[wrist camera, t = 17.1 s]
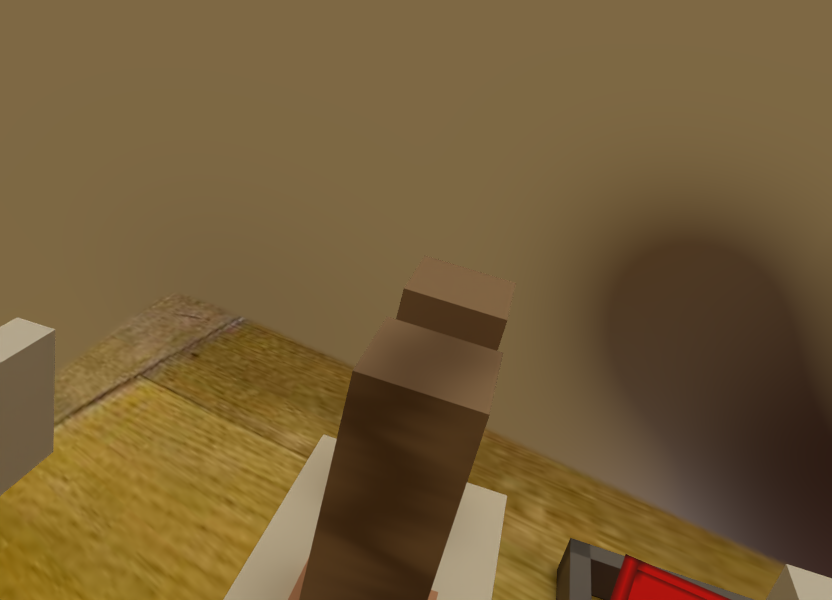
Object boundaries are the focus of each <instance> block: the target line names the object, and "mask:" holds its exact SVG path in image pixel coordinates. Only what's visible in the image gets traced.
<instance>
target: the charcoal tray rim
mask: <svg viewBox="0 0 832 600" xmlns="http://www.w3.org/2000/svg"><path fill="white" fill-rule="evenodd" d="M624 557H625V556H622V555H619V554H616V553H614V552H611V551H608V550H605V549H602V548H599V547H596V546H593V545H590V544H587V543H584V542H581V541H578V540H575V539H572V538H570V541H569V543H568V545H567V548H566V550H565V552H564V555H563V557H562V560H561V562H560V564H559V567H558V569H557V594H556V600H591V595H593V596H596V597H599V598H602V599H605V600H610V598H611V596H612V593H613V590H614V587H615V584H616V581H617V578H618V575H619V572H620V569H621V566H622V563H623V560H624ZM654 567H655V566H654ZM657 568H658V567H657ZM659 569H661V568H659ZM661 570H664V569H661ZM664 571H666V572H668V573H671V574H673V575H675V576H678V577H680V578H682V579H685V580H687V581H689V582H692V583H694V584H696V585H699V586H701V587H703V588H705V589H708V590H710V591H712V592H715V593H717V594H719V595H722V596H724V597H726V598H729V599H731V600H753V599H750V598H747V597H744V596H742V595H739V594H736V593H733V592H730V591H727V590H724V589H721V588H718V587H715V586H712V585H709V584H706V583H703V582H700V581H697V580H694V579H691V578H688V577H685V576H682V575H679V574H676V573H673V572H670V571H667V570H664Z"/></svg>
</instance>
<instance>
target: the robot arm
mask: <svg viewBox="0 0 832 600" xmlns="http://www.w3.org/2000/svg"><path fill="white" fill-rule="evenodd" d="M54 376H55V329H52V328H49V327H45V326H43V325H40V324H36V323H33V322H30V321H27V320H24V319H21V318H16V319H14V320H12V321H10V322H8V323H6V324H5V325H3V326H1V327H0V496H1V495H2V494H3V493H4V492H5V491H7V490H8V489H9V488H10V487H11V486H13V485H14V484H15V483H16V482H17V481H19V480H20V479H21V478H22V477H23V476H25V475H26V474H27V473H28V472H29V471H31V470H32V469H33V468H34V467H35V466H37V465H38V464H39V463H40V462H41V461H43V460H44V459H45V458H46V457H47V456H49V455H50V454H51V453H52V452H53V435H54ZM766 600H832V579H831V578H828V577H825V576H822V575H819V574H816V573H813V572H809V571H807V570H803V569H800V568H797V567H794V566H791V565H788V564H786V566H785V567H784V569H783V571H782V573H781V574H780V576H779V578H778V580H777V581H776V583H775V585H774V587H773V588H772V590H771V592H770V594H769V595H768V597H767V599H766Z"/></svg>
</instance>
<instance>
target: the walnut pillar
mask: <svg viewBox="0 0 832 600" xmlns="http://www.w3.org/2000/svg"><path fill="white" fill-rule="evenodd" d="M502 356H503V353H502V352H499V351H496V350H493V349H489V348H486V347H483V346H480V345H477V344H474V343H470V342H467V341H464V340H461V339H458V338H454V337H451V336H448V335H445V334H442V333H438V332H435V331H432V330H429V329H426V328H422V327H419V326H416V325H413V324H410V323H407V322H403V321H400V320H397V319H394V318H391V317H386V319H385V320H384V322H383V323H382V325H381V327H380V328H379V330H378V332H377V333H376V335H375V336H374V338H373V339H372V341H371V343H370V344H369V346H368V347H367V349H366V351H365V352H364V354H363V355H362V357H361V359H360V360H359V362H358V363H357V365H356V366H355V368H354V370H353V372H352V376H351V381H350V385H349V389H348V393H347V398H346V402H345V406H344V410H343V415H342V419H341V423H340V428H339V432H338V436H337V440H336V445H335V449H334V453H333V457H332V462H331V466H330V470H329V474H328V479H327V483H326V487H325V491H324V496H323V500H322V504H321V508H320V513H319V517H318V521H317V525H316V530H315V534H314V538H313V542H312V547H311V551H310V555H309V559H308V564H307V568H306V572H305V577H304V581H303V585H302V589H301V594H300V598H299V600H428V597H429V594H430V591H431V588H432V585H433V582H434V579H435V576H436V573H437V570H438V567H439V564H440V561H441V558H442V555H443V552H444V549H445V546H446V543H447V540H448V537H449V534H450V531H451V529H452V526H453V523H454V520H455V517H456V514H457V511H458V508H459V505H460V502H461V499H462V496H463V493H464V490H465V487H466V484H467V481H468V478H469V475H470V472H471V469H472V466H473V463H474V460H475V457H476V454H477V451H478V448H479V445H480V442H481V439H482V436H483V433H484V430H485V427H486V424H487V421H488V418H489V415H490V410H491V406H492V401H493V397H494V392H495V388H496V383H497V379H498V374H499V369H500V365H501V361H502Z"/></svg>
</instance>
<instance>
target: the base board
mask: <svg viewBox="0 0 832 600" xmlns="http://www.w3.org/2000/svg"><path fill="white" fill-rule="evenodd" d="M515 285H516V283H514V282H510V281H507V280H504V279H500V278H497V277H493V276H490V275H487V274H484V273H481V272H477V271H474V270H470V269H467V268H464V267H461V266H457V265H454V264H451V263H448V262H444V261H441V260H437V259H434V258H431V257H428V256H424V257H423V259H422V261H421V262H420V264H419V266H418V267H417V269H416V270H415V272H414V273H413V275H412V277H411V278H410V280H409V281H408V283H407V284H406V286H405V288H404V290H403V294H402V298H401V302H400V307H399V310H398V314H397V318H396V319H397V320H400V321H403V322H407V323H410V324H413V325H416V326H419V327H422V328H426V329H429V330H432V331H435V332H438V333H442V334H445V335H448V336H451V337H454V338H458V339H461V340H464V341H467V342H470V343H474V344H477V345H480V346H483V347H486V348H489V349H493V350H496V351H497V350H498V347H499V344H500V341H501V338H502V335H503V332H504V329H505V325H506V323H507V319H508V315H509V311H510V307H511V302H512V298H513V294H514V289H515ZM336 440H337V439H335V438H332V437H329V436H326V435H323V436H322V438H321V439H320V441H319V443H318V444H317V446H316V447H315V449H314V451H313V452H312V454H311V456H310V457H309V459H308V461H307V462H306V464H305V466H304V467H303V469H302V471H301V472H300V474H299V476H298V477H297V479H296V481H295V482H294V484H293V486H292V487H291V489H290V491H289V492H288V494H287V495H286V497H285V499H284V500H283V502H282V504H281V505H280V507H279V509H278V510H277V512H276V514H275V515H274V517H273V519H272V520H271V522H270V524H269V525H268V527H267V529H266V530H265V532H264V534H263V535H262V537H261V538H260V540H259V542H258V543H257V545H256V547H255V548H254V550H253V552H252V553H251V555H250V557H249V558H248V560H247V562H246V563H245V565H244V567H243V568H242V570H241V572H240V573H239V575H238V577H237V578H236V580H235V582H234V583H233V585H232V586H231V588H230V590H229V591H228V593H227V595H226V596H225V598H224V600H299V598H300V594H301V589H302V585H303V581H304V577H305V572H306V568H307V564H308V559H309V555H310V551H311V547H312V542H313V538H314V534H315V530H316V525H317V521H318V517H319V513H320V508H321V504H322V500H323V496H324V491H325V487H326V483H327V479H328V474H329V470H330V466H331V462H332V457H333V453H334V449H335V445H336ZM506 499H507V496H506V495H503V494H500V493H497V492H494V491H491V490H488V489H485V488H482V487H479V486H476V485H473V484H470V483H467V484H466V487H465V490H464V493H463V496H462V499H461V502H460V505H459V508H458V511H457V514H456V517H455V520H454V523H453V526H452V529H451V531H450V534H449V537H448V540H447V543H446V546H445V549H444V552H443V555H442V558H441V561H440V564H439V567H438V570H437V573H436V576H435V579H434V582H433V585H432V588H431V591H430V594H429V597H428V600H491V599H492V592H493V586H494V579H495V572H496V565H497V559H498V552H499V545H500V539H501V532H502V525H503V519H504V512H505V505H506Z"/></svg>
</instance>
